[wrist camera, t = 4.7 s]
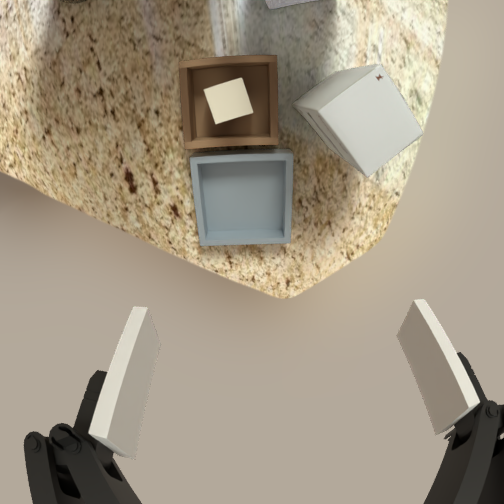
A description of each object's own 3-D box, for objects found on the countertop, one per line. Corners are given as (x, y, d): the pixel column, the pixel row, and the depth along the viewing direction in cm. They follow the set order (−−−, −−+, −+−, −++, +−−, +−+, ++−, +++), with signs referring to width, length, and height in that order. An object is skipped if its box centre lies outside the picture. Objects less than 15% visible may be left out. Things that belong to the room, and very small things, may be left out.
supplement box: (289, 104, 28) (314, 109, 18) (335, 70, 26) (382, 60, 15) (327, 149, 31) (366, 180, 21) (370, 117, 29) (426, 134, 18)
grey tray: (203, 234, 38) (200, 245, 35) (194, 152, 31) (189, 157, 29) (287, 232, 38) (290, 243, 35) (289, 148, 31) (293, 153, 29)
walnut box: (191, 143, 31) (184, 149, 27) (186, 65, 25) (178, 61, 22) (274, 139, 31) (278, 144, 27) (273, 60, 25) (276, 55, 22)
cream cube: (219, 121, 29) (215, 124, 25) (209, 90, 27) (203, 89, 23) (252, 110, 28) (253, 112, 25) (242, 80, 26) (241, 77, 23)
